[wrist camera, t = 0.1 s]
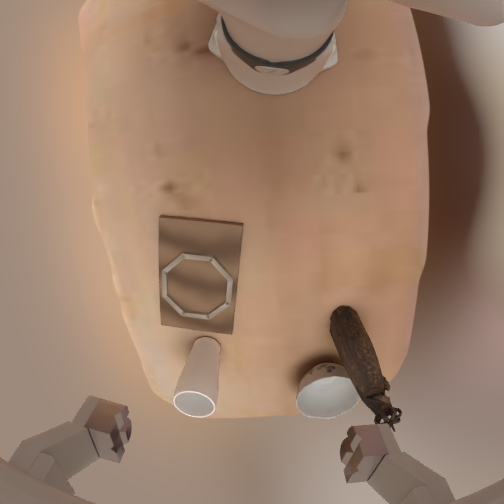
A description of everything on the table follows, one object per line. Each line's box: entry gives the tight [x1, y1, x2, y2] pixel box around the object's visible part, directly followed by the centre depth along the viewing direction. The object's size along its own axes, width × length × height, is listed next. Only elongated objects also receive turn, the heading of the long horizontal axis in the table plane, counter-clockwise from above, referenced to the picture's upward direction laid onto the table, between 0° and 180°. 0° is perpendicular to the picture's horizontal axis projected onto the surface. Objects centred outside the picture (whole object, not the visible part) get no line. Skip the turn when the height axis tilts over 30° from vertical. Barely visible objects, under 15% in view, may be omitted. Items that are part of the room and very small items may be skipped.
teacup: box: [296, 363, 361, 419], centre depth 55 cm, size 15×12×8 cm
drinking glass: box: [173, 337, 221, 417], centre depth 49 cm, size 7×7×15 cm
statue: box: [330, 306, 402, 432], centre depth 42 cm, size 9×8×25 cm
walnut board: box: [159, 215, 243, 334], centre depth 50 cm, size 20×13×2 cm, turn 174°
